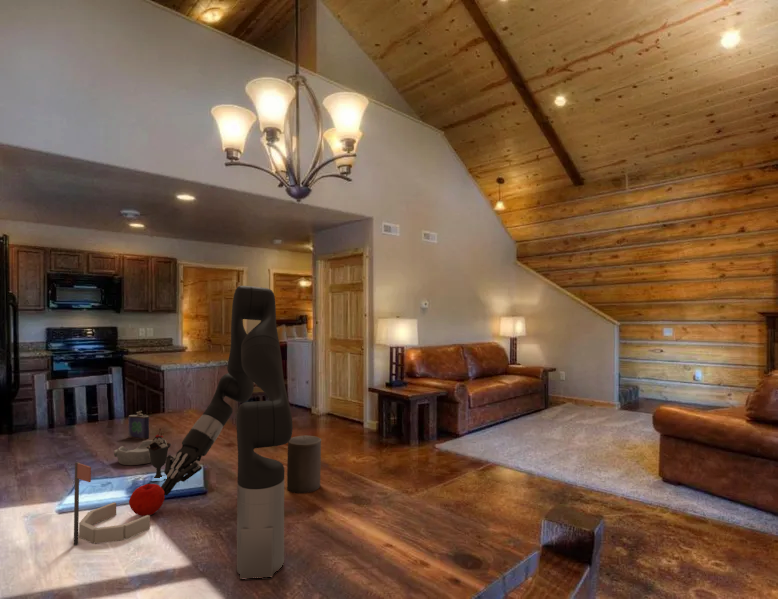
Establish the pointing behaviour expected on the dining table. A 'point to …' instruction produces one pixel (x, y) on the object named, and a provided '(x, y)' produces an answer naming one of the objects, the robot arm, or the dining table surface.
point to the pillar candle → (303, 464)
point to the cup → (101, 517)
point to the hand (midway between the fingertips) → (162, 493)
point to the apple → (147, 499)
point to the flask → (138, 426)
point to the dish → (134, 454)
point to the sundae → (158, 453)
